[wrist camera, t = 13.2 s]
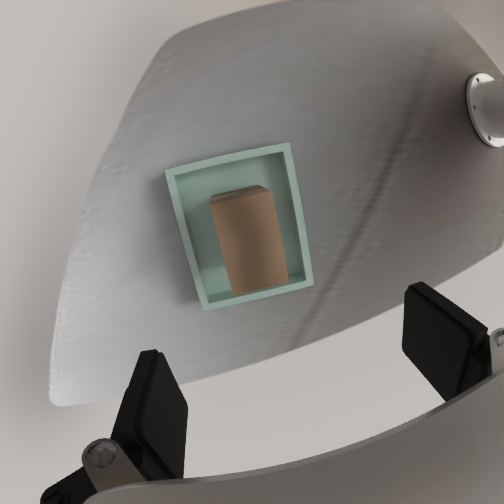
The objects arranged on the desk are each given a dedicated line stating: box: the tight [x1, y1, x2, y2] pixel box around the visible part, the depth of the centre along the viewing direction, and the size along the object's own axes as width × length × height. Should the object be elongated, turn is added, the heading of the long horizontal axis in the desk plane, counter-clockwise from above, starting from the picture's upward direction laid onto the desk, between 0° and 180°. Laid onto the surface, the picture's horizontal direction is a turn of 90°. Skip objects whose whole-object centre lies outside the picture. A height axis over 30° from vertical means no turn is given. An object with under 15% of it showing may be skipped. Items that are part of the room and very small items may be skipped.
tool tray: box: [164, 142, 314, 312], centre depth 31 cm, size 13×16×3 cm
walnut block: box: [210, 185, 289, 295], centre depth 28 cm, size 5×8×8 cm, turn 12°
